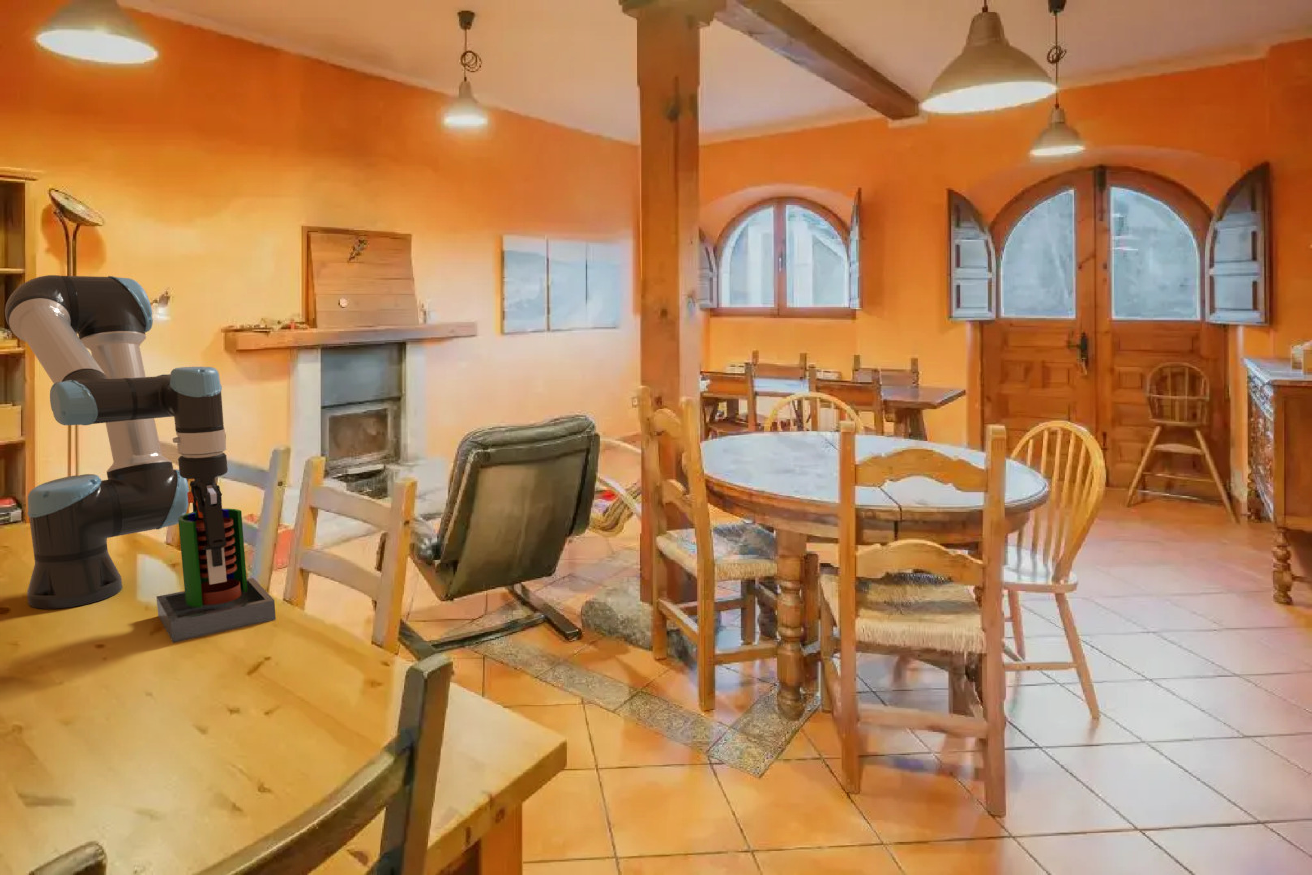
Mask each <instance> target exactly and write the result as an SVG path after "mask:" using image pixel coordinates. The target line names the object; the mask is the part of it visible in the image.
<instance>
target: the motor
mask: <svg viewBox="0 0 1312 875" xmlns="http://www.w3.org/2000/svg"><path fill="white" fill-rule="evenodd" d="M187 496H188V504H193V503H194V501H193V495H192V492H191V491H189V492H187ZM196 505H197V508H198V504H197V501H196ZM222 511H223V520H224V529H225V538H226V542H227V544H226V546H224V555H225V567H226V578H227V581H226V582H221V583H216V584H211V585H210V584H209V577H208V566H207V555H206V550H203V547H205V546H207V540H206V534H205V527H204V521H202V520H198V521H197V520H196V512H193V511H192V512H188V513H186V514H185V515H182V516H180V517H179V518H178V522H179V523H178V531H179V532H178V533H179V544H180V554H181V564H182V565H181V566H182V567H181V568H182V575H183V586H184V588H183V589H184V591H185V600H186V604H187V605H188V606H191V607H199V608H200V607H202V606H203V605H215V604H221V603H226V602H229V601H232V600H235V599H237V598H239V597H240V596H241V591H243V592H246V591H247V579H248V578H247V568H246V554H245V553H246V552H245V541H244V529H243V527H244V526H243V516H242V514H243V513H242V510H240V509H237V508H222ZM198 515H199V518H203V515H202V513H201V512H199V510H198ZM215 541H217V540H215Z"/></svg>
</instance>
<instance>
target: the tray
mask: <svg viewBox="0 0 1312 875" xmlns="http://www.w3.org/2000/svg"><path fill="white" fill-rule="evenodd" d="M246 579H247V591H246V592H243V591H241V596H240V597H239V598H237V599H235V600H232V601H229V602H226V603H221V604H215V605H203V606H202V607H200V608H199V607H191V606H188V605H187V604H186V600H185V590H183V591H178V592H173V593H172V592H171V593H168V594H163V595H162V594H161V595H157V596H156V605H157V607H156V608H157V615H158V618H159V620H160V622H161V623H162V625H163V627H164V629H165V631H166V633H167V635H168V636H169V638H170V640H171V642H172V643H173V644H175V643H180V642H184V641H188V640H192V639H193V640H194V639H196V638H201V637H206V636H209V635H214V634H218V633H223V632H228V631H232V630H236V629H241V628H245V627H249V626H253V625H258V624H263V623H267V622H271V621H276V619H277V618H276V604H275V599H274V598H273V597H272V596H271V595H270V594H269V593H268V591H266V590H265V588H264V587H263V586H261V584H260V583H259V582H258V581H257V580H256V579H255V578H254V577H250V578H246Z"/></svg>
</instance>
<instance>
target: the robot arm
mask: <svg viewBox="0 0 1312 875" xmlns="http://www.w3.org/2000/svg"><path fill="white" fill-rule="evenodd" d="M142 286H143V285H141V284H140V283H139V282H138V281H136V280H135V279H132V278H129V277H128V278H127V277H116V276H113V275H112V276H111V275H108V276H91V275H89V276H87V275H86V276H85V275H84V276H83V275H81V276H79V275H59V274H58V275H57V274H55V275H53V274H49V275H41V276H38V277H35V278H31V279H30V280H28V281H26V282H23V283H22V284H20V285H19V286H18V287H17V288H15V290H13V292H12V293H11V294H10V296H9V297H8V299H7V301H6V304H5V308H4V313H5V314H4V315H5V320H6V324H7V325H8V327H9V329H10V330H11V332H12V333H13V334H14V336H16V337H17V338H18V339H19V340H21V341H23V342H26V343H27V345H28V347H29V348H30V349H31V351H32V353H33V354H34V356H35V357H36V359H37V360H38V362H39V363H40V365H41V366H42V368H43V369H44V372H46V374H47V376H48V377H49V379H50V380H51V382H52V385H51V387H50V389H49V390H50V391H49V402H50V403H49V404H50V410H51V411H52V414H53V418H54V420H55V421H56V422H57V423H58V424H60V425H63V426H90V425H94V424H95V425H96V424H105V427H106V432H107V438H108V442H109V447H110V451H111V452H110V453H111V457H112V461H113V462H112V464H111V465H110V466H109V468H108V469H107V470H106V476H107V479H104V480H102V479H101V478H100V476H99V475H97V474H94V473H92V474H91V473H87V474H86V473H85V474H80V475H77V474H75V475H70V476H65V477H61V478H57V479H53V480H50V481H49V480H48V481H46V482H43V483H41V484H39V485H37V486H35V487H34V488H32V489H31V490H30V491H29V492H28V494H27V513H26V514H27V517H28V519H29V525H30V534H31V542H32V549H33V556H34V565H33V569H32V573H31V576H30V581H29V585H28V588H27V593H26V594H27V603H28V605H29V606H30V607H32V608H36V609H42V610H44V609H45V610H46V609H48V610H50V609H52V610H53V609H64V608H74V607H77V606H84V605H88V604H91V603H95V602H96V603H97V602H98V601H99V602H100V601H102V600H106V599H109V598H110V597H112V596H113V597H114V596H115V595H117V594H118V593H119V592H121V591H122V590H123V580H122V576H121V574H120V572H119V570H118V569H117V566H116V565H115V563H114V561H113V559H112V558H111V555H110V554H109V550H108V539H109V538H113V537H119V536H125V535H132V534H135V533H141V532H147V531H152V530H161V529H163V528H166V527H172V526H175V525H179V522H178V518H179V517H180V516H182V515H185V514H187V511H188V509H189V508H188V507H189V503H188V496H187V492H192V495H193V501H194V503H192V512H196V520H197V521H198V520H202V521H204V527H205V534H206V540H207V546H205V547H203V550H206V555H207V566H208V577H209V584H210V585H211V584H216V583H221V582H226V581H227V578H226V567H225V555H224V546H226V544H227V542H226V538H225V529H224V520H223V511H222V509H223V501H222V495H223V493H222V491H221V488H220V485H219V484H218V485H217V483H216V478H217V477H221V476H224V475H226V474H228V470H229V469H228V468H229V467H228V460H227V454H226V453H225V451H226V450H227V445H226V444H227V443H226V431H225V426H224V414H223V412H224V411H223V410H224V409H223V400H222V398H223V397H222V391H223V390H222V388H223V386H222V384H221V379H220V374H219V371H218V370H217V368H215V367H213V366H183V367H175V368H173V369H172V370H171V371H170V373H169V374H168V373H167V374H159V375H156V376H146V372H145V371H146V370H145V366H144V363H143V357H142V352H141V348H140V346H141V345H142V344H143V342H144V341H145V340H146V339H147V336H146V333H148V332H149V331H150V330H151V329H152V327H153V321H154V319H153V317H152V316H153V309H152V305H151V301H150V299H149V296H148V294H147V292H146V291H145V289H144V288H143V287H142ZM172 417H173V419H174V431H175V433H176V434H175V435H176V437H173V438H172V443H174V444H176V447H177V453H178V454H179V455H180V456H179V457H178V458H177V460H178V469H174V465H173V462H172V460H170V459H169V458H167V457H165V456H164V455H163V454H162V449H161V445H160V440H159V439H160V438H159V435H158V430H157V425H156V421H155V419H160V418H161V419H163V418H172ZM189 479H190V483H188V480H189ZM189 487H190V488H189ZM196 501H197V504H198V508H197V505H196ZM198 510H199V512H201V513H202V515H203V518H199V515H198ZM215 540H217V541H215Z"/></svg>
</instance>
